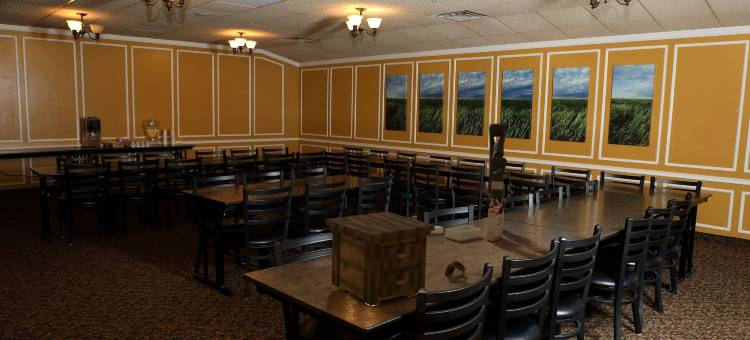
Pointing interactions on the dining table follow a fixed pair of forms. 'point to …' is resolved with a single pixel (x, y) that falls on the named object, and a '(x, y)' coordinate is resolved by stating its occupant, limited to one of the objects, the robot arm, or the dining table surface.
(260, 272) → the dining table surface
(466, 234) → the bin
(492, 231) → the cracker box
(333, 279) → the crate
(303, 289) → the dining table surface
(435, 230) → the tan small block
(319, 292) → the dining table surface
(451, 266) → the brown curved band
